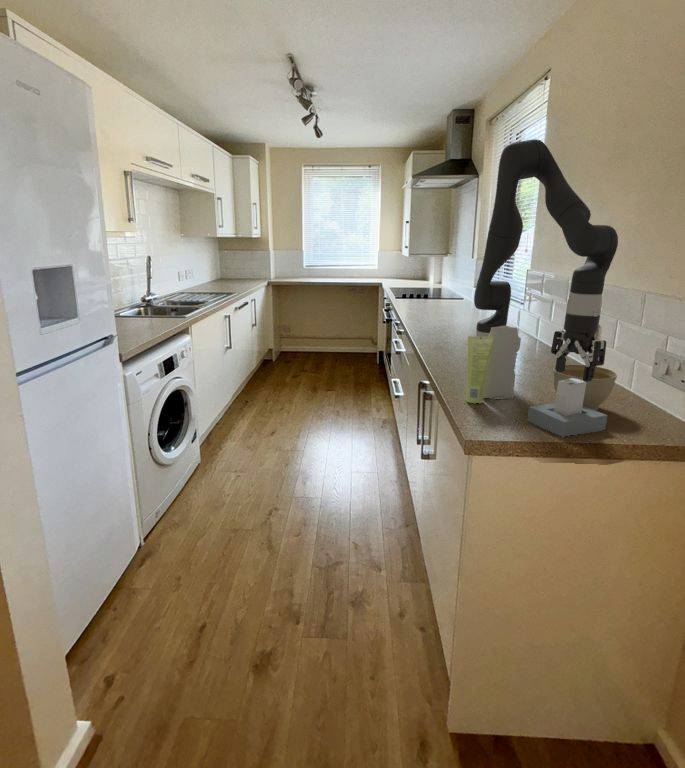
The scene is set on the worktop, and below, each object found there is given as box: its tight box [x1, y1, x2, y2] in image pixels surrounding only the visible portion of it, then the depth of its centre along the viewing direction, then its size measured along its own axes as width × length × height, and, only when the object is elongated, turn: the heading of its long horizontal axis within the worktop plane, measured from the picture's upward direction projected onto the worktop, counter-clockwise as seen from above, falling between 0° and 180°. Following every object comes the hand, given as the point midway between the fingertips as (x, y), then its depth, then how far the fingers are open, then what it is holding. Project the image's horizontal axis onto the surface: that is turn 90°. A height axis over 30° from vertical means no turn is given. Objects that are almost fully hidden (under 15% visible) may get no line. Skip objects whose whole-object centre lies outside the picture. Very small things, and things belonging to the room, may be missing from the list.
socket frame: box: [527, 402, 608, 438], centre depth 126 cm, size 12×14×4 cm
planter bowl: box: [552, 363, 618, 411], centre depth 139 cm, size 16×16×11 cm
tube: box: [465, 335, 493, 405], centre depth 142 cm, size 6×5×20 cm
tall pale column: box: [483, 325, 522, 400], centre depth 145 cm, size 11×4×22 cm, turn 93°
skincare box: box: [554, 378, 586, 417], centre depth 124 cm, size 6×4×12 cm
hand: (573, 376), depth 123 cm, fingers open, 8 cm apart
